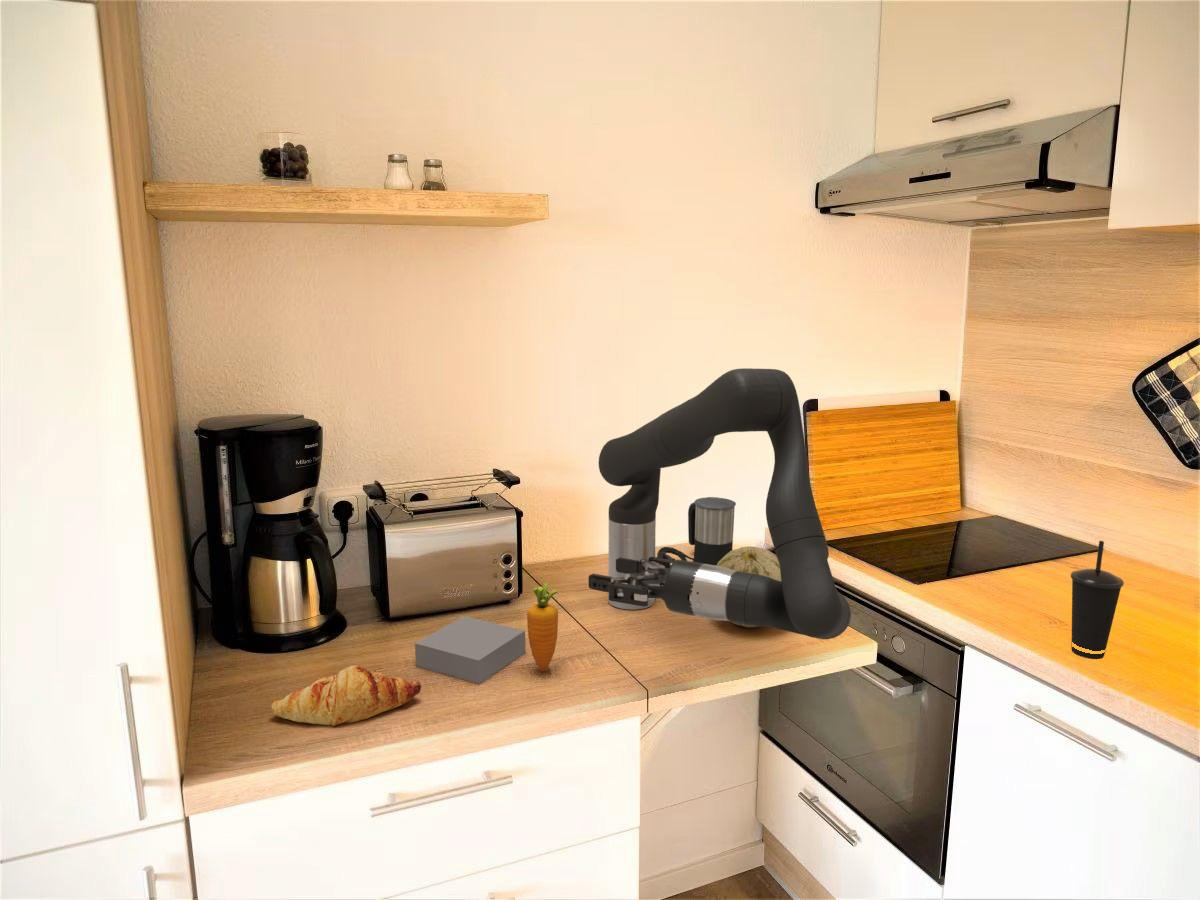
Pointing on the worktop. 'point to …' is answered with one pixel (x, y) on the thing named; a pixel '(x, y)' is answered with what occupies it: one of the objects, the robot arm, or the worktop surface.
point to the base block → (470, 649)
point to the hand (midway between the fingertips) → (603, 572)
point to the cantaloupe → (752, 564)
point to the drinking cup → (1093, 607)
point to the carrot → (542, 627)
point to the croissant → (346, 697)
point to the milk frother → (707, 531)
